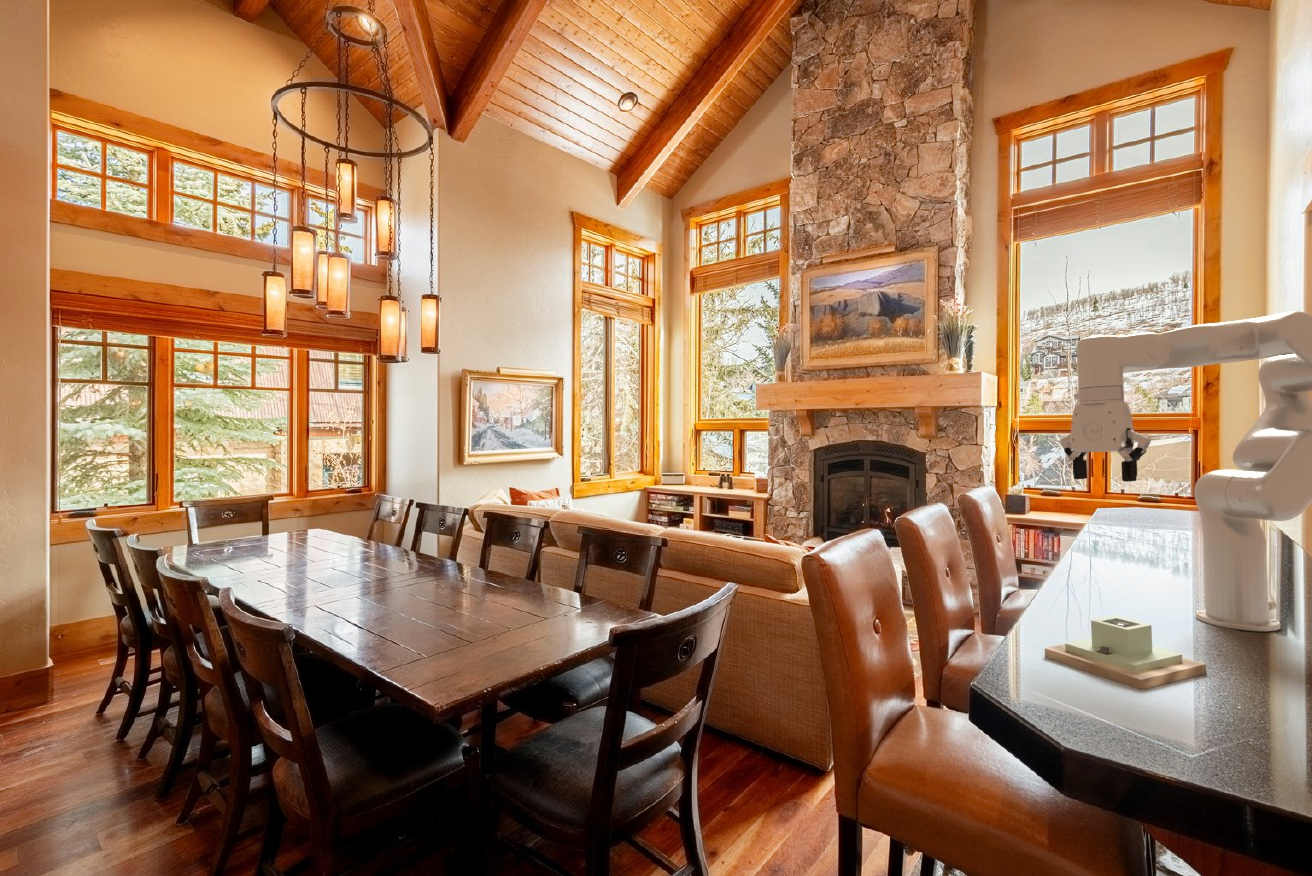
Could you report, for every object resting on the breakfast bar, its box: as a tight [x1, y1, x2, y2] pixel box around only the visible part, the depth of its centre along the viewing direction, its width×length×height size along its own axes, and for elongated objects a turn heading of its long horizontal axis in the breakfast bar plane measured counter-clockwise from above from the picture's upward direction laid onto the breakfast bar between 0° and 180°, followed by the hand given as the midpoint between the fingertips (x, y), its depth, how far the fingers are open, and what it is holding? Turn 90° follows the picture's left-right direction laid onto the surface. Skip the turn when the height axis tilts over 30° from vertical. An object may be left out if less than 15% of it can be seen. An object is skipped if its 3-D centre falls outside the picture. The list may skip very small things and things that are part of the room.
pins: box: [1100, 621, 1132, 655], centre depth 104 cm, size 6×3×6 cm, turn 110°
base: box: [1044, 643, 1207, 690], centre depth 105 cm, size 16×16×2 cm
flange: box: [1064, 615, 1183, 673], centre depth 105 cm, size 12×12×6 cm
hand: (1104, 480), depth 124 cm, fingers open, 9 cm apart
